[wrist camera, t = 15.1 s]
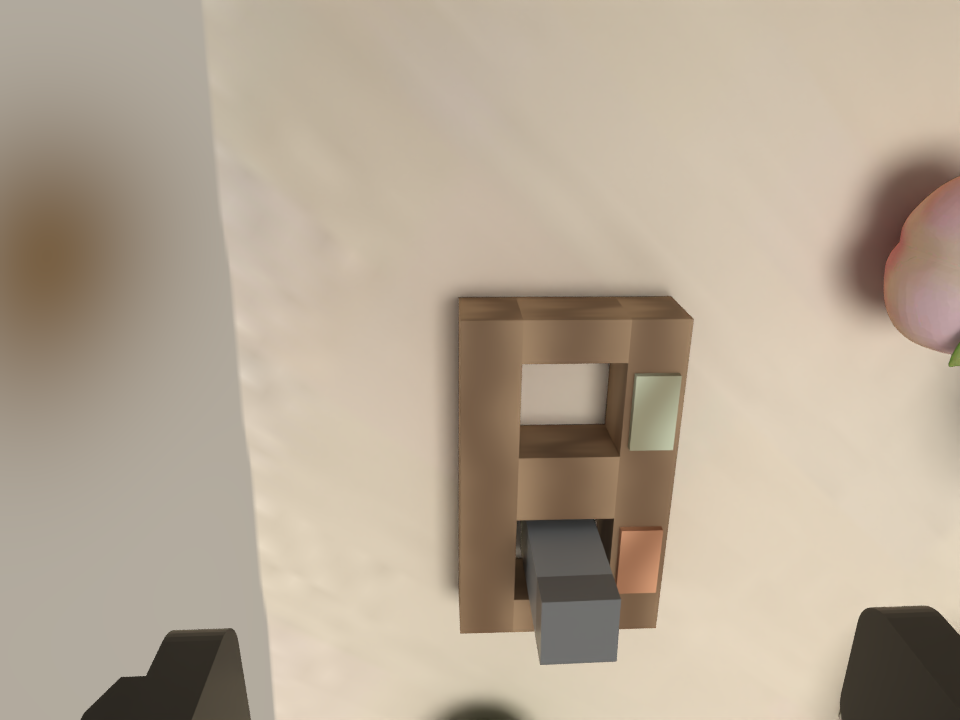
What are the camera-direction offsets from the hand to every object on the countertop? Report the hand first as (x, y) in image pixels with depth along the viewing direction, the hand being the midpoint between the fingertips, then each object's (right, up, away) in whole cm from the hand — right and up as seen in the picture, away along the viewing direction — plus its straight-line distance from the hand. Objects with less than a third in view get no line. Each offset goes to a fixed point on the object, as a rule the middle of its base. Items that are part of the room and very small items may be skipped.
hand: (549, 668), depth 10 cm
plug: (+4, -6, +38) cm, 38 cm away
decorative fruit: (+24, +11, +32) cm, 42 cm away
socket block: (+4, -2, +36) cm, 36 cm away
